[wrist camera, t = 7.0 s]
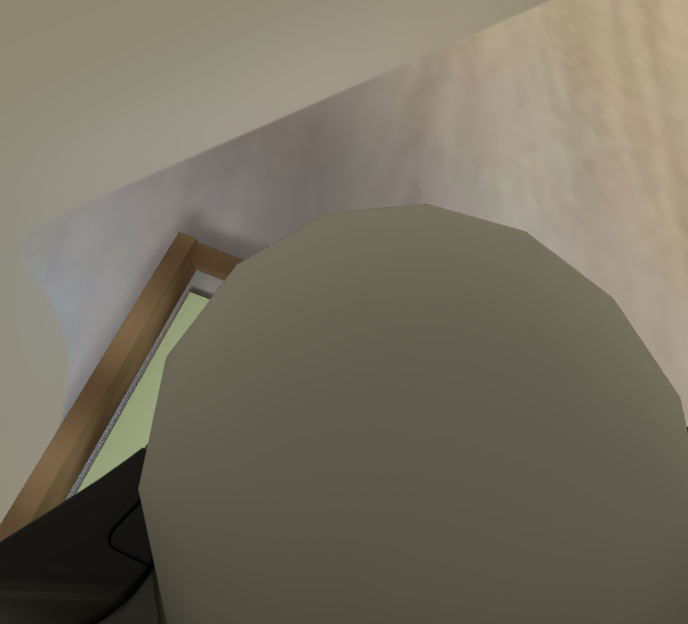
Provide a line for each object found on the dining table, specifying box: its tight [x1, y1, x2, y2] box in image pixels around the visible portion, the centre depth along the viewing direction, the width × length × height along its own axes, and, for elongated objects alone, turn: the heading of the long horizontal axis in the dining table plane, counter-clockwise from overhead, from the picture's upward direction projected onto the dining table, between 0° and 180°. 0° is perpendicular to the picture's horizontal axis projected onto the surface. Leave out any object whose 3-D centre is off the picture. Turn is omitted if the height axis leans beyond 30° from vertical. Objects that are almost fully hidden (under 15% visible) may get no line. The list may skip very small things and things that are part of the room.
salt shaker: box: [138, 204, 688, 624], centre depth 9 cm, size 6×6×13 cm
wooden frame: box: [0, 232, 688, 541], centre depth 19 cm, size 19×30×2 cm, turn 69°
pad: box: [77, 292, 210, 493], centre depth 21 cm, size 14×8×1 cm, turn 159°
